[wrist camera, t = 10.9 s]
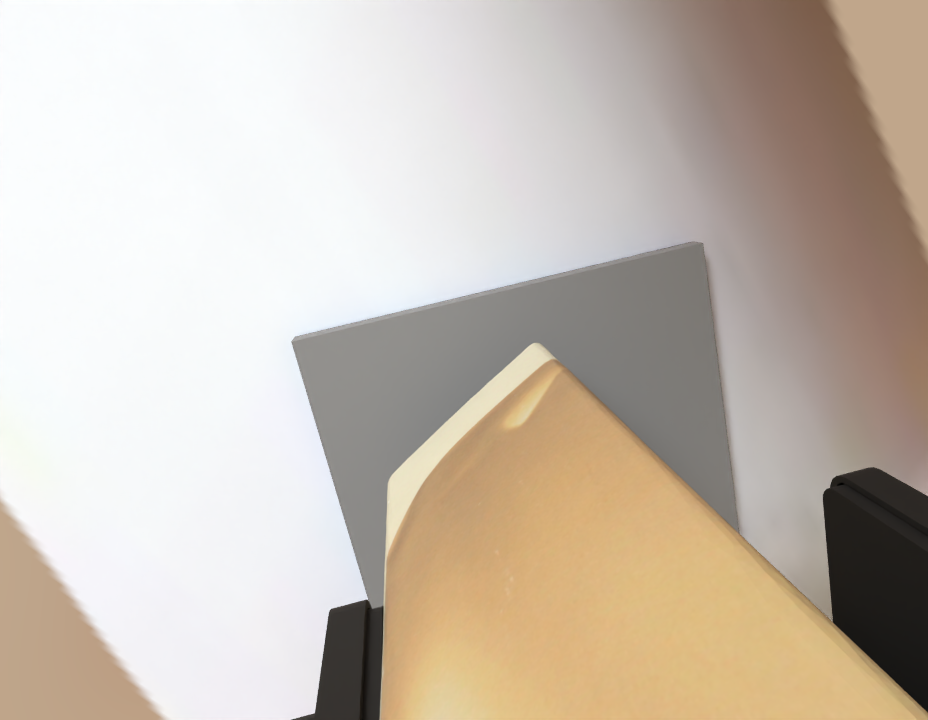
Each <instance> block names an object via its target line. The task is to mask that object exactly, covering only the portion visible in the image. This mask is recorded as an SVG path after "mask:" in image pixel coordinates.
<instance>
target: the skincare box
mask: <svg viewBox="0 0 928 720" xmlns="http://www.w3.org/2000/svg"><path fill="white" fill-rule="evenodd" d="M380 720H928V712H927V711H926V710H924V709H923V708H922V707H921V706H920V705H919V704H918V703H917V702H916V701H915V700H914V699H913V698H912V697H911V696H910V695H909V694H908V693H907V692H906V691H904V690H903V689H902V688H901V687H900V686H899V685H898V684H897V683H896V682H895V681H894V680H893V679H892V678H891V677H890V676H889V675H888V674H887V673H886V672H884V671H883V670H882V669H881V668H880V667H879V666H878V665H877V664H876V663H875V662H874V661H873V660H872V659H871V658H870V657H869V656H868V655H867V654H865V653H864V652H863V651H862V650H861V649H860V648H859V647H858V646H857V645H856V644H855V643H854V642H853V641H852V640H851V639H850V638H849V637H848V636H846V635H845V634H844V633H843V632H842V631H841V630H840V629H839V628H838V627H837V626H836V625H835V624H834V623H833V622H832V621H831V620H830V619H829V618H827V617H826V616H825V615H824V614H823V613H822V612H821V611H820V610H819V609H818V608H817V607H816V606H815V605H814V604H813V603H812V602H811V601H810V600H809V599H807V598H806V597H805V596H804V595H803V594H802V593H801V592H800V591H799V590H798V589H797V588H796V587H795V586H794V585H793V584H792V583H791V582H790V581H788V580H787V579H786V578H785V577H784V576H783V575H782V574H781V573H780V572H779V571H778V570H777V569H776V568H775V567H774V566H773V565H772V564H771V563H769V562H768V561H767V560H766V559H765V558H764V557H763V556H762V555H761V554H760V553H759V552H758V551H757V550H756V549H755V548H754V547H752V546H751V545H750V544H749V543H748V542H747V541H746V540H745V539H744V538H743V537H742V536H741V535H740V534H739V533H738V532H737V531H736V530H735V529H734V528H733V527H732V526H731V525H730V524H729V523H727V522H726V521H725V520H724V519H723V518H722V517H721V516H720V515H719V514H718V513H717V512H716V511H715V510H714V509H713V508H712V507H711V506H710V505H709V504H708V503H707V502H706V501H705V500H704V499H703V498H702V497H700V496H699V495H698V494H697V493H696V492H695V491H694V490H693V489H692V488H691V487H690V486H689V485H688V484H687V483H686V482H685V481H684V480H683V479H682V478H681V477H680V476H678V475H677V474H676V473H675V472H674V471H673V470H672V469H671V468H670V467H669V466H668V465H667V464H666V463H665V462H664V461H663V460H662V459H661V458H660V457H658V456H657V455H656V454H655V453H654V452H653V451H652V450H651V449H650V448H649V447H648V446H647V445H646V444H645V443H644V442H643V441H642V440H641V439H640V438H639V437H638V436H637V435H636V434H635V433H634V432H633V431H632V430H631V429H630V428H629V427H628V426H627V425H626V424H625V423H623V422H622V421H621V420H620V419H619V418H618V417H617V416H616V415H615V414H614V413H613V412H612V411H611V410H610V409H609V408H608V407H607V406H606V405H605V404H604V403H603V402H602V401H601V400H600V399H599V398H598V397H597V396H596V395H595V394H593V393H592V392H591V391H590V390H589V389H588V388H587V387H586V386H585V385H584V384H583V383H582V382H581V381H580V380H579V379H578V378H577V377H576V376H575V375H574V374H573V373H572V372H571V371H570V370H568V369H567V368H566V367H565V366H564V365H563V364H562V363H560V362H559V361H558V360H557V359H556V358H555V357H554V356H553V355H552V354H551V353H550V352H549V351H548V350H547V349H546V348H545V347H544V346H542V345H541V344H540V343H533V344H531V345H530V346H528V347H527V348H526V349H525V350H524V351H523V352H522V353H521V354H520V355H519V356H517V357H516V358H515V359H514V360H513V361H512V362H511V363H510V364H509V365H507V366H506V367H505V368H504V369H503V370H502V371H501V372H500V373H499V374H497V375H496V376H495V377H494V378H493V379H492V380H491V381H489V382H488V383H487V384H486V385H485V386H484V387H483V388H482V389H481V390H480V391H479V392H478V393H477V394H475V395H474V396H473V397H472V398H471V399H470V400H469V401H468V402H467V403H466V404H465V405H463V406H462V407H461V408H460V409H459V410H458V411H457V412H456V413H455V414H454V415H453V416H452V417H451V418H450V419H449V420H448V421H446V422H445V423H444V424H443V425H442V426H441V427H440V428H439V429H438V430H437V431H436V432H435V433H434V434H433V435H432V436H431V437H430V438H429V439H428V440H427V441H426V442H425V443H424V444H423V445H422V446H420V447H419V448H418V449H417V450H416V451H415V452H414V453H413V454H412V455H411V456H410V457H409V458H408V459H407V460H406V461H405V462H404V463H403V464H402V465H401V466H400V467H399V468H398V469H397V470H396V471H395V472H394V473H393V474H392V476H391V477H390V479H389V481H388V490H387V518H386V550H385V572H384V605H383V646H382V677H381V700H380Z"/></svg>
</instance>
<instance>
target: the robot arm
mask: <svg viewBox="0 0 928 720" xmlns="http://www.w3.org/2000/svg"><path fill="white" fill-rule="evenodd" d="M823 506H824V518H825V530H826V542H827V554H828V566H829V578H830V590H831V603H832V615H833V623H834V624H835V625H836V626H837V627H838V628H839V629H840V630H841V631H842V632H843V633H844V634H845V635H846V636H848V637H849V638H850V639H851V640H852V641H853V642H854V643H855V644H856V645H857V646H858V647H859V648H860V649H861V650H862V651H863V652H864V653H865V654H867V655H868V656H869V657H870V658H871V659H872V660H873V661H874V662H875V663H876V664H877V665H878V666H879V667H880V668H881V669H882V670H883V671H884V672H886V673H887V674H888V675H889V676H890V677H891V678H892V679H893V680H894V681H895V682H896V683H897V684H898V685H899V686H900V687H901V688H902V689H903V690H904V691H906V692H907V693H908V694H909V695H910V696H911V697H912V698H913V699H914V700H915V701H916V702H917V703H918V704H919V705H920V706H921V707H922V708H923V709H924V710H926V711H927V712H928V496H926V495H925V494H923V493H921V492H919V491H917V490H916V489H914V488H912V487H910V486H908V485H907V484H905V483H903V482H901V481H900V480H898V479H896V478H894V477H892V476H891V475H889V474H887V473H885V472H883V471H882V470H880V469H877V468H874V467H873V468H866V469H862V470H858V471H855V472H851V473H847V474H843V475H839V476H836V477H835V478H833V479H832V482H831V485H830V488H829V489H826V490H825V491H824V494H823ZM382 646H383V606H381V607H377V608H373V609H372V607H371V604H370V602H369V601H368V600H364V601H360V602H356V603H352V604H348V605H345V606H341V607H337V608H333V609H331V610H330V612H329V616H328V623H327V631H326V638H325V645H324V652H323V660H322V667H321V674H320V681H319V689H318V696H317V703H316V710H315V713H314V714H311V715H307V716H303V717H300V718H296V719H292V720H380V700H381V677H382Z"/></svg>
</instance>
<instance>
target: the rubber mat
mask: <svg viewBox="0 0 928 720" xmlns="http://www.w3.org/2000/svg"><path fill="white" fill-rule="evenodd" d="M533 343H540V344H541V345H542V346H544V347H545V348H546V349H547V350H548V351H549V352H550V353H551V354H552V355H553V356H554V357H555V358H556V359H557V360H558V361H559V362H560V363H562V364H563V365H564V366H565V367H566V368H567V369H568V370H570V371H571V372H572V373H573V374H574V375H575V376H576V377H577V378H578V379H579V380H580V381H581V382H582V383H583V384H584V385H585V386H586V387H587V388H588V389H589V390H590V391H591V392H592V393H593V394H595V395H596V396H597V397H598V398H599V399H600V400H601V401H602V402H603V403H604V404H605V405H606V406H607V407H608V408H609V409H610V410H611V411H612V412H613V413H614V414H615V415H616V416H617V417H618V418H619V419H620V420H621V421H622V422H623V423H625V424H626V425H627V426H628V427H629V428H630V429H631V430H632V431H633V432H634V433H635V434H636V435H637V436H638V437H639V438H640V439H641V440H642V441H643V442H644V443H645V444H646V445H647V446H648V447H649V448H650V449H651V450H652V451H653V452H654V453H655V454H656V455H657V456H658V457H660V458H661V459H662V460H663V461H664V462H665V463H666V464H667V465H668V466H669V467H670V468H671V469H672V470H673V471H674V472H675V473H676V474H677V475H678V476H680V477H681V478H682V479H683V480H684V481H685V482H686V483H687V484H688V485H689V486H690V487H691V488H692V489H693V490H694V491H695V492H696V493H697V494H698V495H699V496H700V497H702V498H703V499H704V500H705V501H706V502H707V503H708V504H709V505H710V506H711V507H712V508H713V509H714V510H715V511H716V512H717V513H718V514H719V515H720V516H721V517H722V518H723V519H724V520H725V521H726V522H727V523H729V524H730V525H731V526H732V527H733V528H734V529H735V530H736V531H737V532H738V533H739V528H738V520H737V512H736V504H735V496H734V488H733V480H732V472H731V463H730V455H729V447H728V439H727V431H726V423H725V415H724V407H723V399H722V391H721V383H720V375H719V367H718V359H717V351H716V343H715V335H714V327H713V319H712V311H711V303H710V295H709V287H708V279H707V271H706V263H705V255H704V247H703V243H698V242H689V243H685V244H681V245H677V246H672V247H668V248H664V249H660V250H656V251H652V252H647V253H643V254H639V255H635V256H631V257H626V258H622V259H618V260H614V261H610V262H606V263H601V264H597V265H593V266H589V267H585V268H580V269H576V270H572V271H568V272H564V273H560V274H555V275H551V276H547V277H543V278H539V279H535V280H530V281H526V282H522V283H518V284H514V285H509V286H505V287H501V288H497V289H493V290H489V291H484V292H480V293H476V294H472V295H468V296H463V297H459V298H455V299H451V300H447V301H443V302H438V303H434V304H430V305H426V306H422V307H417V308H413V309H409V310H405V311H401V312H397V313H392V314H388V315H384V316H380V317H376V318H372V319H367V320H363V321H359V322H355V323H351V324H346V325H342V326H338V327H334V328H330V329H326V330H321V331H317V332H313V333H309V334H305V335H300V336H296V337H294V339H293V340H292V345H293V348H294V352H295V355H296V358H297V362H298V365H299V369H300V372H301V375H302V379H303V382H304V385H305V389H306V392H307V395H308V399H309V402H310V405H311V409H312V412H313V415H314V419H315V422H316V425H317V429H318V432H319V436H320V439H321V442H322V446H323V449H324V452H325V456H326V459H327V462H328V466H329V469H330V472H331V476H332V479H333V482H334V486H335V489H336V493H337V496H338V499H339V503H340V506H341V509H342V513H343V516H344V519H345V523H346V526H347V529H348V533H349V536H350V539H351V543H352V546H353V549H354V553H355V556H356V560H357V563H358V566H359V570H360V573H361V576H362V580H363V583H364V586H365V590H366V593H367V596H368V600H369V602H370V604H371V607H372V609H373V608H377V607H381V606H383V605H384V572H385V550H386V518H387V490H388V481H389V479H390V477H391V476H392V474H393V473H394V472H395V471H396V470H397V469H398V468H399V467H400V466H401V465H402V464H403V463H404V462H405V461H406V460H407V459H408V458H409V457H410V456H411V455H412V454H413V453H414V452H415V451H416V450H417V449H418V448H419V447H420V446H422V445H423V444H424V443H425V442H426V441H427V440H428V439H429V438H430V437H431V436H432V435H433V434H434V433H435V432H436V431H437V430H438V429H439V428H440V427H441V426H442V425H443V424H444V423H445V422H446V421H448V420H449V419H450V418H451V417H452V416H453V415H454V414H455V413H456V412H457V411H458V410H459V409H460V408H461V407H462V406H463V405H465V404H466V403H467V402H468V401H469V400H470V399H471V398H472V397H473V396H474V395H475V394H477V393H478V392H479V391H480V390H481V389H482V388H483V387H484V386H485V385H486V384H487V383H488V382H489V381H491V380H492V379H493V378H494V377H495V376H496V375H497V374H499V373H500V372H501V371H502V370H503V369H504V368H505V367H506V366H507V365H509V364H510V363H511V362H512V361H513V360H514V359H515V358H516V357H517V356H519V355H520V354H521V353H522V352H523V351H524V350H525V349H526V348H527V347H528V346H530V345H531V344H533Z"/></svg>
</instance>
